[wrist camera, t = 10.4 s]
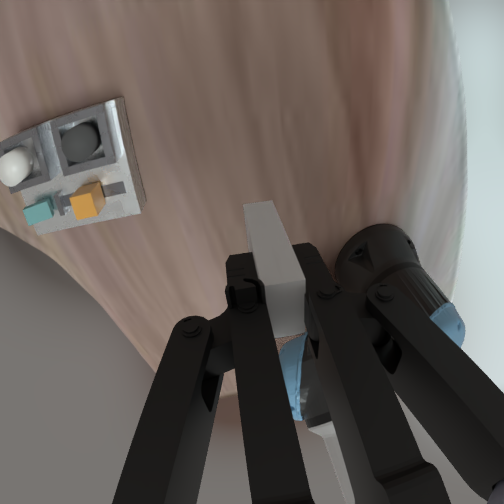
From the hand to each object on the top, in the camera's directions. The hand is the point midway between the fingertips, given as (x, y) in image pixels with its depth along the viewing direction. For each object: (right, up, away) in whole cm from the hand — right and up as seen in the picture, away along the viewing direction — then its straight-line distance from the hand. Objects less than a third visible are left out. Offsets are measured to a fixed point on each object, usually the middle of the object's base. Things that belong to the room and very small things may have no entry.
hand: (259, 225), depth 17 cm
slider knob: (-21, +6, +20) cm, 29 cm away
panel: (-24, +11, +21) cm, 34 cm away
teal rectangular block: (-29, +4, +18) cm, 34 cm away
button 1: (-28, +9, +13) cm, 32 cm away
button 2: (-20, +12, +15) cm, 27 cm away
